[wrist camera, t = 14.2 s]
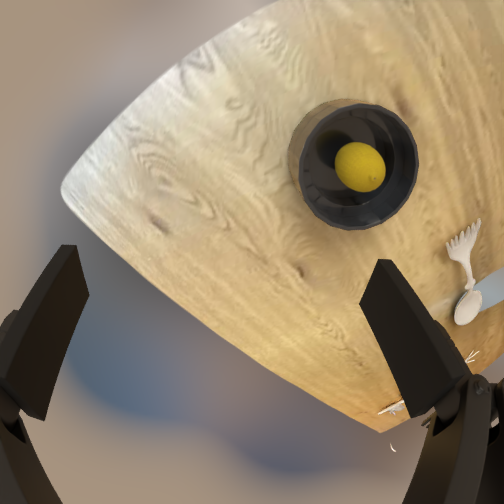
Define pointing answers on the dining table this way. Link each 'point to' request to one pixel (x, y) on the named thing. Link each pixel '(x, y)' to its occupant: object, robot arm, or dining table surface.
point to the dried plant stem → (399, 407)
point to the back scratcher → (461, 253)
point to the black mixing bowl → (323, 162)
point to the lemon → (360, 167)
